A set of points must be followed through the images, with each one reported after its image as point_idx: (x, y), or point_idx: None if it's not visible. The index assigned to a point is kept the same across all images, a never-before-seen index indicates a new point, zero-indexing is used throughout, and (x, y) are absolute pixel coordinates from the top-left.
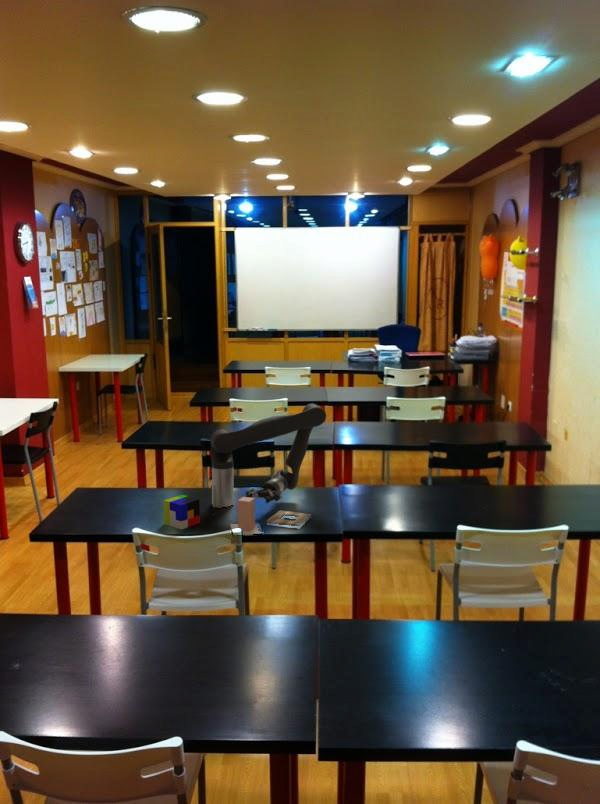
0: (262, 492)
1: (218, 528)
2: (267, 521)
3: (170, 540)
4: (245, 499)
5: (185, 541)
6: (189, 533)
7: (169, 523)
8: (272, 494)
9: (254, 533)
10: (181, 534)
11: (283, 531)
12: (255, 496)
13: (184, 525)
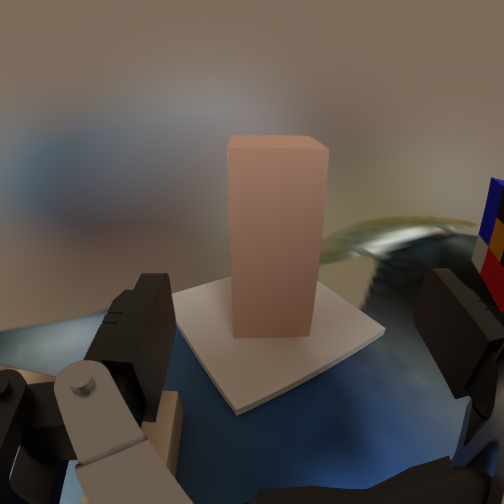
0: (394, 494)
1: (398, 298)
2: (171, 394)
3: (412, 217)
4: (277, 139)
5: (379, 219)
6: (425, 247)
7: None
8: (68, 381)
9: (203, 284)
10: (433, 240)
11: (71, 350)
12: (462, 452)
13: (478, 256)
